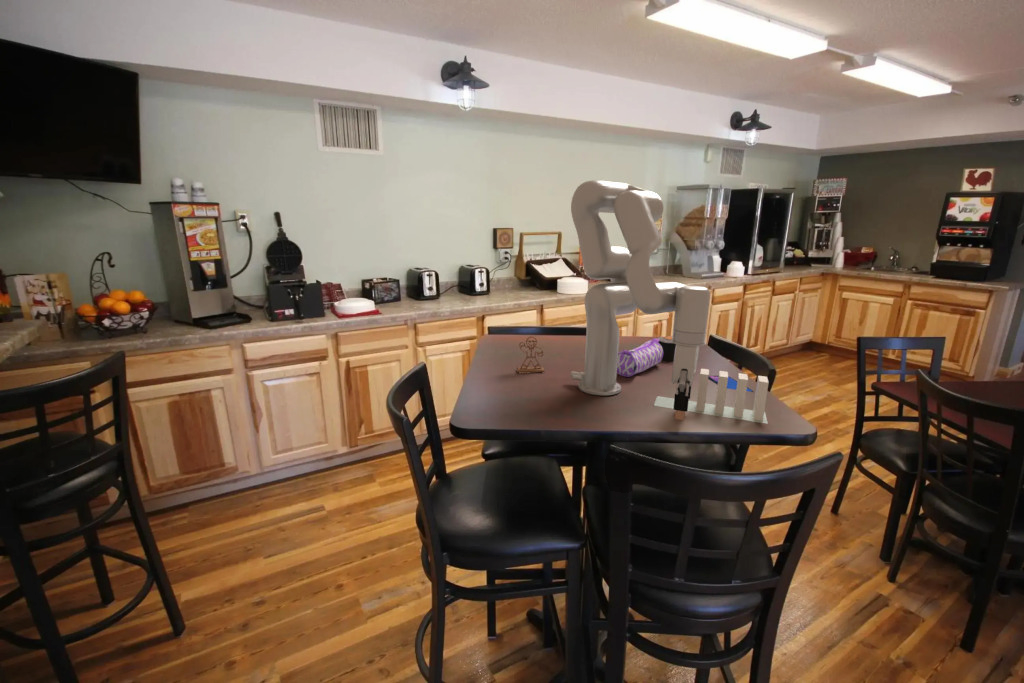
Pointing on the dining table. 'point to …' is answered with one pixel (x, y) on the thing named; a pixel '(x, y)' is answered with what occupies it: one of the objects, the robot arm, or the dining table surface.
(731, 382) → the smartphone
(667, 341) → the sushi
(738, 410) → the domino
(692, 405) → the board
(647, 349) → the pencil case
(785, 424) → the dining table surface
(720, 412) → the domino
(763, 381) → the domino
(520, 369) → the gingerbread man figurine
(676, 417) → the domino
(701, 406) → the domino
